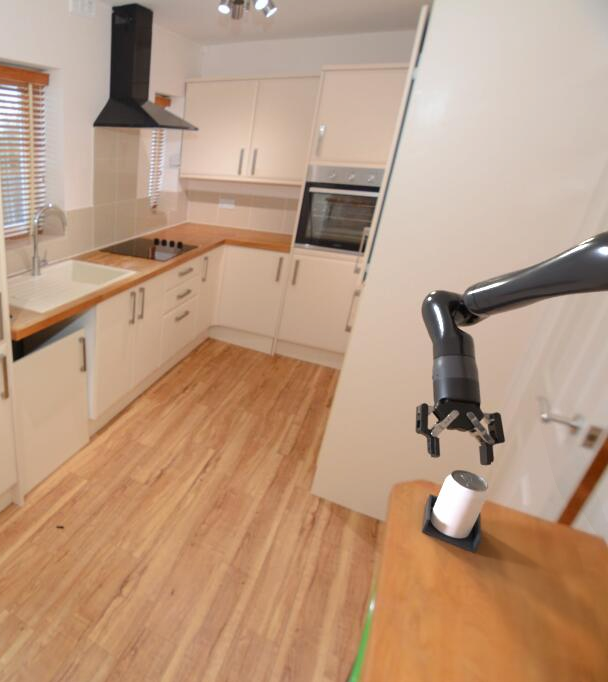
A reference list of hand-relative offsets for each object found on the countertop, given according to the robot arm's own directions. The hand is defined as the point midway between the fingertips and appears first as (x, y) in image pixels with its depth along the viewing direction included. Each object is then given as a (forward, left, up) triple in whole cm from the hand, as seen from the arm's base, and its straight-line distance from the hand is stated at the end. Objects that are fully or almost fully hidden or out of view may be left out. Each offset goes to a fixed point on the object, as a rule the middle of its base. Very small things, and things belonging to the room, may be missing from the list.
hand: (460, 461), depth 89 cm
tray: (-2, +3, -14) cm, 14 cm away
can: (-2, +4, -13) cm, 14 cm away
